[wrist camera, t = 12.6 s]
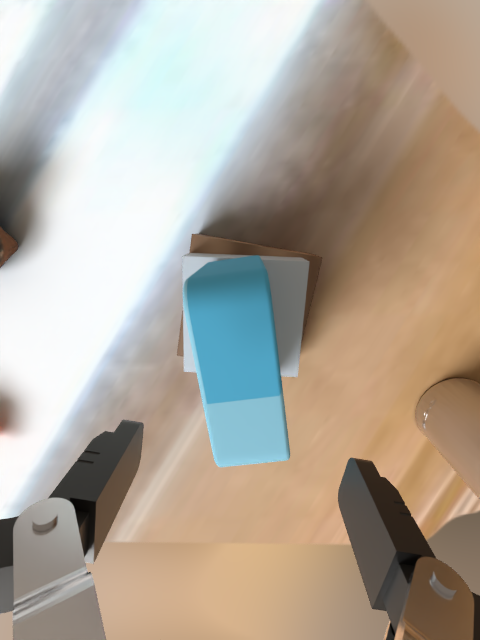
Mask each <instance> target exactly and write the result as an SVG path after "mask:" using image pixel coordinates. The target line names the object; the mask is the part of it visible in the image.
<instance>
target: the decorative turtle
mask: <svg viewBox="0 0 480 640" xmlns="http://www.w3.org/2000/svg"><path fill="white" fill-rule="evenodd" d="M17 249H18V243H17V242H16V240H15V239H14V238H13V237H11V236H10V235H9V234H7V233H6V232H5V231H4V230H3V229H2V228H1V226H0V268H1V266H2V265H3V264H4V263H5V261H7V260H8V259H9V257H10V256H11V255H12V254H14V253H15V252H16V251H17Z"/></svg>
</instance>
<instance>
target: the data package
mask: <svg viewBox="0 0 480 640" xmlns="http://www.w3.org/2000/svg"><path fill="white" fill-rule="evenodd" d="M183 306H184V313H185V318H186V323H187V328H188V333H189V338H190V343H191V347H192V352H193V357H194V362H195V367H196V372H197V377H198V382H199V387H200V392H201V397H202V402H203V407H204V412H205V417H206V422H207V427H208V432H209V436H210V441H211V446H212V451H213V456H214V460H215V462H216V464H217V465H218V466H219V467H227V466H237V465H247V464H257V463H267V462H276V461H286V460H288V459H289V458H290V448H289V439H288V431H287V423H286V414H285V406H284V397H283V389H282V380H281V372H280V363H279V355H278V346H277V338H276V330H275V321H274V313H273V304H272V296H271V289H270V282H269V277H268V272H267V270H266V268H265V266H264V263H263V261H262V259H261V257H260V256H259V255H254V256H247V257H240V258H234V259H227V260H220V261H213V262H208V263H206V264H205V265H204V266H203V267H201V268H200V269H199V270H197V271H196V272H195V273H194V274H192V275H191V276H190V277H189V278H187V279H186V280H185V282H184V285H183Z"/></svg>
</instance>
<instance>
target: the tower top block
mask: <svg viewBox="0 0 480 640" xmlns="http://www.w3.org/2000/svg"><path fill="white" fill-rule="evenodd" d="M247 256H254V255H230V254H207V253H189V254H186V255H184V256H182V273H183V285H184V282H185V280H186V279H187V278H189V277H190V276H191V275H192V274H194V273H195V272H196V271H197V270H199V269H200V268H201V267H203V266H204V265H205V264H206V263H208V262H213V261H220V260H227V259H234V258H240V257H247ZM260 257H261V259H262V261H263V263H264V266H265V268H266V270H267V272H268V277H269V282H270V289H271V296H272V304H273V313H274V321H275V330H276V338H277V346H278V355H279V363H280V372H281V376H286V377H298V368H299V358H300V349H301V339H302V329H303V320H304V310H305V300H306V291H307V281H308V271H309V261H307V260H305V259H304V258H301V257H277V256H260ZM183 342H184V372H196V367H195V362H194V357H193V352H192V347H191V343H190V338H189V333H188V328H187V323H186V318H185V313H184V306H183Z"/></svg>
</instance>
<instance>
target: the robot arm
mask: <svg viewBox="0 0 480 640" xmlns="http://www.w3.org/2000/svg"><path fill="white" fill-rule="evenodd" d="M416 422H417V425H418V427H419V429H420V430H421V431H422V433H423V434H424V435H425V436H426V437H427V438H428V440H429V441H430V442H431V443H432V444H433V445H434V447H435V448H436V449H437V450H438V451H439V453H440V454H441V455H442V456H443V457H444V458H445V460H446V461H447V462H448V463H449V464H450V465H451V467H452V468H453V469H454V470H455V471H456V472H457V474H458V475H459V476H460V477H461V478H462V479H463V481H464V482H465V483H466V484H467V485H468V486H469V488H470V489H471V490H472V491H473V492H474V493H475V495H476V496H477V497H478V498H479V499H480V384H479V383H478V382H475V381H473V380H470V379H465V378H453V379H448V380H445V381H442V382H440V383H438V384H436V385H434V386H433V387H431V388H430V389H429V390H428V391H427V392H425V394H424V395H423V396H422V397H421V399H420V401H419V403H418V405H417V408H416ZM143 428H144V425H143V423H141V422H135V421H129V420H122V422H121V423H120V424H119V426H118V427H117V429H116V430H115V432H114V433H113V432H107V431H105V432H103V433H102V434H100V435H99V436H97V437H96V438H94V439H93V440H92V441H91V442H90V444H89V445H88V446H87V448H86V449H85V451H84V452H83V453H82V454H81V456H80V457H79V458H78V460H77V462H75V464H74V465H73V466H72V467H71V469H70V470H69V471H68V473H67V474H66V475H65V477H64V478H63V479H62V481H61V482H60V483H59V485H58V486H57V487H56V489H55V490H54V491H53V493H52V494H51V495H50V496H49V498H48V499H44V500H41V501H39V502H37V503H35V504H33V505H31V506H30V507H28V508H27V509H26V510H25V511H23V512H22V514H21V515H20V516H18V517H14V518H8V519H1V520H0V614H1V613H6V612H10V611H13V640H106V636H105V632H104V627H103V622H102V618H101V613H100V608H99V604H98V599H97V594H96V590H95V585H94V581H93V577H92V574H91V572H89V573H88V571H87V568H86V563H94V562H95V559H96V557H97V555H98V553H99V551H100V549H101V547H102V545H103V543H104V541H105V538H106V536H107V534H108V532H109V530H110V528H111V526H112V524H113V521H114V519H115V517H116V515H117V513H118V511H119V509H120V507H121V505H122V502H123V500H124V498H125V496H126V494H127V492H128V490H129V488H130V486H131V483H132V481H133V479H134V477H135V475H136V473H137V470H138V467H139V463H140V459H141V450H142V439H143ZM338 502H339V508H340V511H341V514H342V517H343V520H344V523H345V526H346V529H347V533H348V536H349V539H350V542H351V545H352V548H353V551H354V554H355V557H356V560H357V564H358V567H359V570H360V573H361V576H362V579H363V582H364V585H365V588H366V591H367V594H368V598H369V601H370V604H371V607H372V609H378V610H384V611H387V613H388V616H389V619H390V622H389V624H388V626H387V629H386V633H385V636H384V640H480V596H479V595H476V594H475V593H473V592H471V591H470V589H469V587H468V585H467V584H466V582H465V581H464V580H463V579H462V578H461V576H460V575H459V574H457V572H456V571H455V570H453V569H452V568H451V567H449V566H448V565H447V564H445V563H443V562H442V561H440V560H438V559H436V557H435V556H434V554H433V552H432V550H431V548H430V547H429V545H428V543H427V541H426V539H425V538H424V536H423V534H422V532H421V531H420V529H419V527H418V525H417V524H416V522H415V520H414V518H413V517H411V513H410V511H409V510H408V508H407V506H405V503H404V501H403V499H402V497H401V496H400V494H399V492H398V490H397V489H396V488H395V487H394V486H393V485H392V484H391V483H390V482H389V481H388V480H387V479H386V478H384V477H380V475H379V473H378V471H377V469H376V467H375V465H374V464H373V462H372V461H369V460H362V459H356V458H350V459H349V460H348V463H347V466H346V469H345V472H344V475H343V478H342V481H341V484H340V487H339V492H338ZM85 562H86V563H85Z"/></svg>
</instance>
